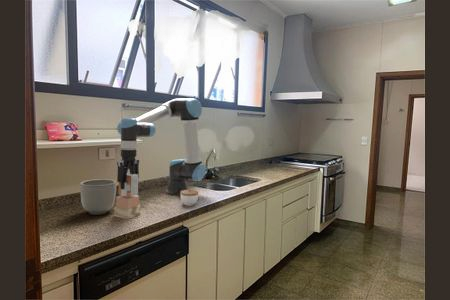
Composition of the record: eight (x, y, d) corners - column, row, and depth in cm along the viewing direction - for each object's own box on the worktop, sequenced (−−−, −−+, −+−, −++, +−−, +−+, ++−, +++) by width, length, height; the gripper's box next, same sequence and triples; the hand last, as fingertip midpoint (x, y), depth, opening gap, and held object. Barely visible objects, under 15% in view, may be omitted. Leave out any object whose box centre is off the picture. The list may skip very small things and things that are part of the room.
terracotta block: (127, 202, 150) (127, 193, 150) (139, 205, 147) (139, 195, 147) (115, 206, 143) (116, 197, 142) (128, 209, 140) (128, 199, 139)
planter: (94, 220, 136) (94, 187, 134) (72, 213, 144) (72, 182, 143) (123, 211, 151) (123, 181, 149) (102, 205, 159) (102, 177, 158)
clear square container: (127, 211, 151) (127, 202, 151) (140, 214, 147) (140, 205, 147) (114, 216, 143) (114, 207, 142) (128, 219, 139) (128, 209, 139)
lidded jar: (176, 205, 166) (177, 189, 165) (185, 201, 176) (186, 186, 175) (192, 207, 162) (193, 191, 161) (201, 203, 172) (201, 188, 171)
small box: (118, 194, 143) (118, 174, 142) (125, 192, 148) (125, 172, 147) (131, 196, 140) (131, 175, 139) (138, 194, 145) (138, 174, 144)
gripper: (135, 147, 152) (134, 189, 154) (108, 149, 135) (108, 197, 137) (146, 148, 149) (146, 191, 151) (121, 150, 132) (120, 199, 134)
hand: (128, 193), depth 144 cm, fingers closed on small box, 6 cm apart
